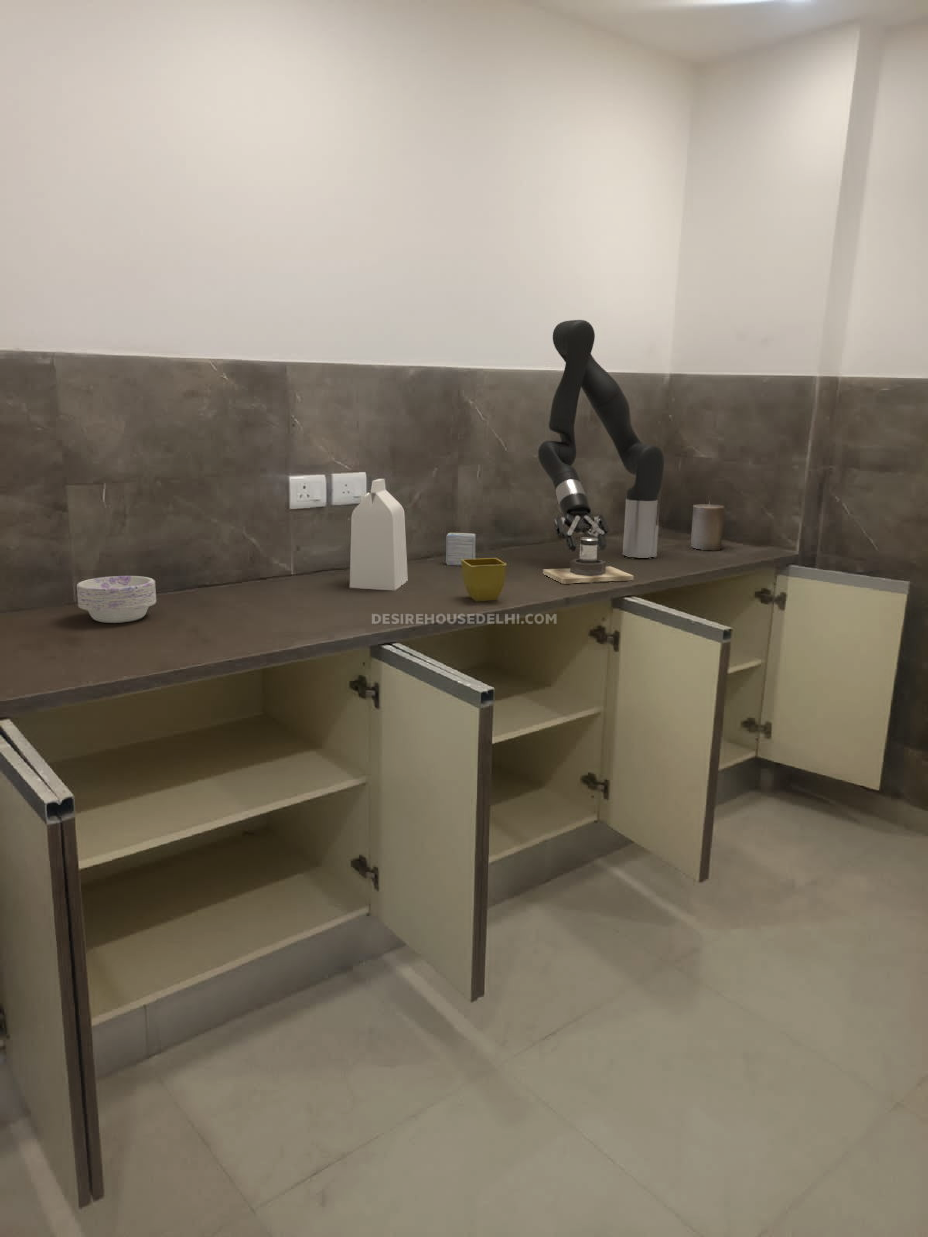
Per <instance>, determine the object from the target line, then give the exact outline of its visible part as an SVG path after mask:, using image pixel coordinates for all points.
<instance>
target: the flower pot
mask: <svg viewBox="0 0 928 1237" xmlns="http://www.w3.org/2000/svg"><path fill="white" fill-rule="evenodd" d="M461 564H462V565H461V572H462V573H461V574H462V579H463V583H464V584H463V585H464V587H465V589H466V591H467V594H468V595H469V597H470V598H471V599H473V600H474V601H475V602H488V601H489V602H490V601H496V600H497V599H498V598H499V596H500V595H501V593H502V592H503V589H504V585H505V580H506V573H507V566H508V565H507V563H506V562H503V560H500V559H499V558H497V557H489V558H488V557H487V558H485V557H484V558H475V559H462V560H461Z"/></svg>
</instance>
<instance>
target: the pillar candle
mask: <svg viewBox="0 0 928 1237" xmlns="http://www.w3.org/2000/svg"><path fill="white" fill-rule="evenodd" d="M724 517H725V506H724V505H722V504H721V505H720V504H711V501H709V502H708V503H707V504H705V503H704V504H703V503H701V504H699V503H698V504H693V506H692V520H691V534H690V548H691V547H693V548H696V549H701V550H700V551H703V550H711V552H713V551H721V550H722V544H723V543H722V542H723V533H724V531H723V530H724V529H723V528H724V519H725V518H724ZM693 548H692V549H693ZM696 549H695V550H696ZM720 549H721V550H720Z"/></svg>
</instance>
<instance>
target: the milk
mask: <svg viewBox="0 0 928 1237" xmlns="http://www.w3.org/2000/svg"><path fill="white" fill-rule="evenodd" d="M360 501H361V502H359V504H358V505H357V506H356V507H354V509H353V511H352V513H351V517H350V518H351V522H350V523H351V524H350V527H351V528H350V529H351V530H350V559H349V560H350V561H349V562H350V564H349V589H350V588H351V589H363V590H366V589H367V590H379V591H380V590H382V591H396V590H397V589H399V588H400V587H402V586H403V585H404V584H406V583H407V582H408V581H409V579H408V577H409V576H408V560H407V556H408V554H407V541H406V540H407V539H406V536H407V534H406V518H405V516H406V514H405V509H404V507H403V506H402V504H401V503H400V502H399V501H398V500H397V499H396V498H395V497H394V496H393V495H392V494H391V493H390V492H389V491H388V490H387V488H386V479H385V478H377V479H374V480H372V481H371V487H370V492H367V493H366V494H364V495H363V496H362V497H361V499H360ZM406 581H407V582H406ZM401 585H402V586H401Z"/></svg>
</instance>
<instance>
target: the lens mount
mask: <svg viewBox="0 0 928 1237" xmlns="http://www.w3.org/2000/svg"><path fill="white" fill-rule="evenodd" d="M543 574H544V575H547V576H548V577H550V578H553V579H554V580H556V581H559V582H561V583H564V584H566V583H580V582H594V581H621V580H633V581H634V575H633V574H630V573H628V572H625V571H623V570H622V569H621V570H620V569H618V568H616V567H613V566H607V562H606V561H605V560H603V559H598V558H597V561H596V563H595V564H586V563H579V558H574V559H572V560H570V567H569V568H567V567H566V568H549V569H545V568H544V569H542V575H543ZM544 575H543V576H544ZM548 577H547V578H548ZM550 578H549V579H550ZM554 580H553V581H554ZM556 581H555V582H556Z"/></svg>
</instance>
